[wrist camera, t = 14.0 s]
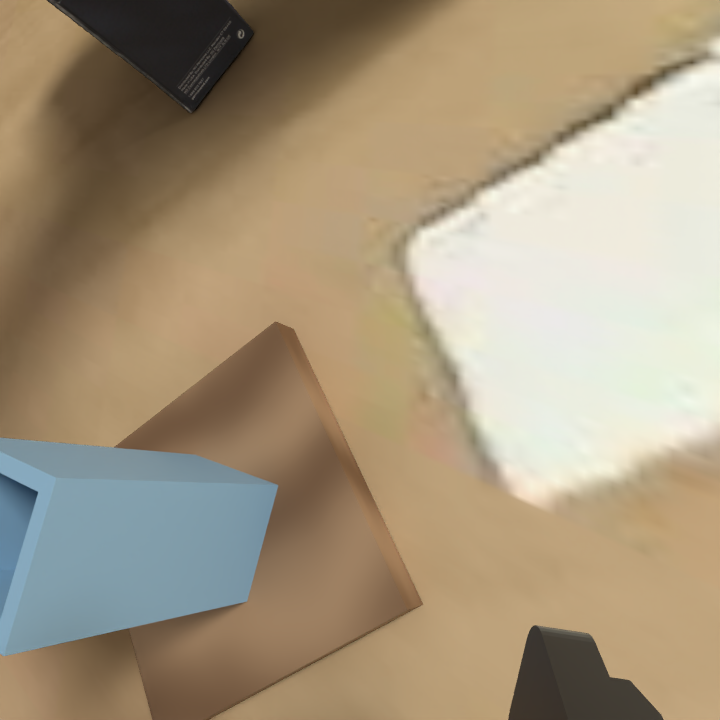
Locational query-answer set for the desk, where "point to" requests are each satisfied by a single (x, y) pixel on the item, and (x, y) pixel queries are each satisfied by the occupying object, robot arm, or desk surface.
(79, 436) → the desk surface
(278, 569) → the peg board
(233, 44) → the small box
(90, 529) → the sleeve
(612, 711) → the robot arm
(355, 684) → the desk surface
